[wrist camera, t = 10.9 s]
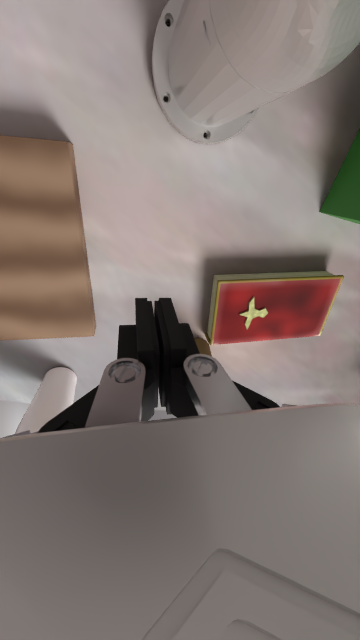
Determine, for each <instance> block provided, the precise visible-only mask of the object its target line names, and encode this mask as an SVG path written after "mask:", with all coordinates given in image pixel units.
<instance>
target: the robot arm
mask: <svg viewBox="0 0 360 640" xmlns="http://www.w3.org/2000/svg"><path fill="white" fill-rule="evenodd" d="M166 21H168V22H169V23H170V27H168V26H166V24H165V22H166ZM359 43H360V0H168V2H167V4H166V5H165V7H164V9H163V11H162V14H161V16H160V19H159V21H158V24H157V28H156V32H155V36H154V42H153V49H152V76H153V83H154V88H155V92H156V95H157V99H158V102H159V104H160V106H161V109H162V111H163V113H164V115H165V116H166V118H167V119H168V121H169V122H170V124H171V125H172V126H173V127H174V128H175V129H176V130H177V131H178V132H179V133H180V134H181V135H183V136H184V137H186V138H187V139H189V140H192V141H194V142H196V143H202V144H216V143H220V142H223V141H226V140H228V139H230V138H232V137H234V136H235V135H236V134H238V133H239V132H241V131H242V130H243V129H244V128H245V127H246V126H247V124H248V123H249V122H250V121H251V120H252V118H253V117H254V115H255V114H256V112H257V110H258V108H259V107H261V106H263V105H265V104H267V103H270V102H272V101H274V100H276V99H278V98H280V97H282V96H284V95H286V94H288V93H291V92H293V91H295V90H297V89H299V88H301V87H303V86H304V85H306V84H308V83H310V82H312V81H314V80H316V79H318V78H320V77H321V76H323V75H324V74H326V73H328V72H329V71H331V70H332V69H333V68H334V67H336V66H337V65H338V64H339V63H340V62H342V61H343V60H344V59H345V58H346V57H347V56H348V55H349V54H350V53H351V52H352V51H353V50H354V49H355V48H356V46H357V45H358V44H359ZM164 97H167V98H168V102H165V101H164V99H163V98H164ZM204 133H206V134H207V137H206V138H204V136H203V135H204ZM135 305H136V325H120V326H119V338H118V354H117V360H115V361H113V362H111V363H110V364H109V365H107V366H106V368H105V370H104V372H103V375H102V378H101V381H100V384H99V385H98V386H97V387H96V388H94V389H93V390H91V391H90V392H89V393H87V394H86V395H84V396H83V397H82V398H80V399H79V400H77V401H76V402H75V403H73V404H72V405H70V406H69V407H68V408H66V409H65V410H64V411H62V412H61V413H59V414H58V415H57V416H55V417H54V418H52V419H51V420H50V421H48V422H47V423H46V424H45V425H44V426H42V427H41V428H40V430H39V431H37V432H34V433H31V431H30V430H28V431H24V432H20V433H17V434H14V435H10V436H6V437H3V438H0V640H360V404H346V403H334V404H315V405H302V406H297V405H287V404H282V407H280V406H279V405H277V404H276V403H275V402H273V401H272V400H270V399H268V398H266V397H264V396H262V395H260V394H258V393H256V392H254V391H252V390H250V389H248V388H246V387H244V386H242V385H240V384H238V383H236V382H234V381H232V380H231V379H230V377H229V376H228V374H227V373H226V371H225V370H224V368H223V367H222V366H221V364H220V363H219V362H218V361H217V360H216V359H215V358H213V357H212V356H209V355H205V354H200V352H199V350H198V347H197V345H196V342H195V339H194V337H193V334H192V331H191V329H190V326H189V324H188V323H180V324H179V322H178V319H177V316H176V313H175V310H174V307H173V303H172V300H171V298H159V301H155V308H154V313H153V307H152V301H147V298H135ZM158 387H159V395H160V402H161V407H166V411H167V414H173V415H174V416H176V417H177V418H171V419H161V420H152V421H148V420H149V419H150V418H151V417H152V416H153V415H154V408H155V407H158Z"/></svg>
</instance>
